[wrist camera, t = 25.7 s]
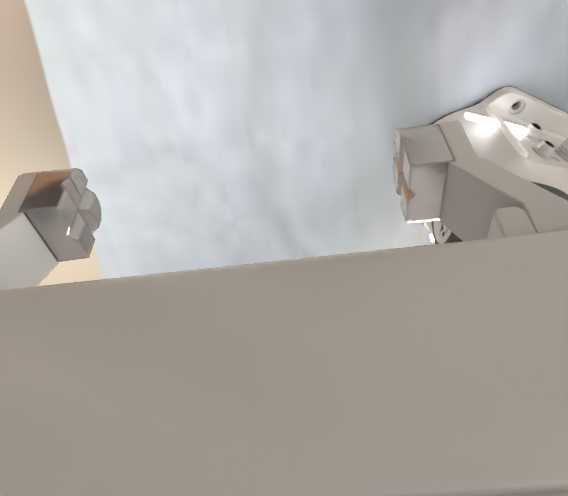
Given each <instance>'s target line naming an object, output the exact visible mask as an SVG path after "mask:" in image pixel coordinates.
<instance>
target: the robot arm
mask: <svg viewBox="0 0 568 496" xmlns="http://www.w3.org/2000/svg"><path fill="white" fill-rule="evenodd" d="M516 102H518V103H517V104H516V105H515V106H512V105H513V104H514V103H516ZM394 144H395V147H396V151H397V154H396V156H395V157H394V165H393V170H394V181H395V187H396V191H397V194H399V195H400V196H401V208H402V212H403V215H404V218H405V222H406V223H413V222H423V224H424V226H425V227H426V229H428V230H430V232H431V234H430V236H429V237H430V239H431V242H435V244H433V245H424V246H414V247H405V248H395V249H386V250H377V251H367V252H358V253H348V254H339V255H329V256H320V257H310V258H301V259H292V260H282V261H273V262H263V263H254V264H244V265H235V266H225V267H216V268H206V269H197V270H188V271H178V272H169V273H159V274H150V275H140V276H131V277H121V278H112V279H102V280H94V281H84V282H74V283H65V284H55V285H45V286H38V285H39V284H40V283H41V282H42V281H43V280H44V279H45V277H47V275H48V274H49V273H50V272H51V271H52V270H53V269H54V268H55V267H56V266H57V265H58V264H59V263H58V262H61V261H68V260H76V259H83V258H89V256H90V253H91V250H92V247H93V244H94V241H95V238H94V237H93V235H92V233H93V232H94V231H95V230H96V229H98V228H99V225H100V222H101V207H100V204H99V201H98V199H97V197H96V195H95V193H93V192H92V191H90V190H89V189H87V188H86V185H87V181H88V180H87V178H86V176H85V175H84V173H83V171H82V170H80V169H78V168H72V169H63V170H52V171H42V172H34V173H26V174H22V175H20V176H18V178H17V180H16V181H15V183H14V185H13V187H12V189H11V191H10V192H9V195H8V196H7V198H6V200H5V202H4V204H3V205H2V207H1V209H0V496H568V113H566V112H564V111H562V110H560V109H558V108H556V107H554V106H551V105H549V104H547V103H545V102H543V101H541V100H539V99H537V98H535V97H533V96H531V95H529V94H527V93H525V92H522V91H520V90H518V89H516V88H514V87H504V88H501V89H499V90H498V91H496V92H494V93H493V94H491V95H490V96H488V97H487V98H485V99H484V100H483V101H481V102H480V103H478V104H476V105H474V106H472V107H469V108H466V109H463V110H460V111H457V112H454V113H452V114H450V115H447V116H445V117H444V118H442V119H440V120H438V121H437V122H435V123H434V124H432V125H425V126H417V127H410V128H403V129H396V132H395V141H394Z"/></svg>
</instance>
